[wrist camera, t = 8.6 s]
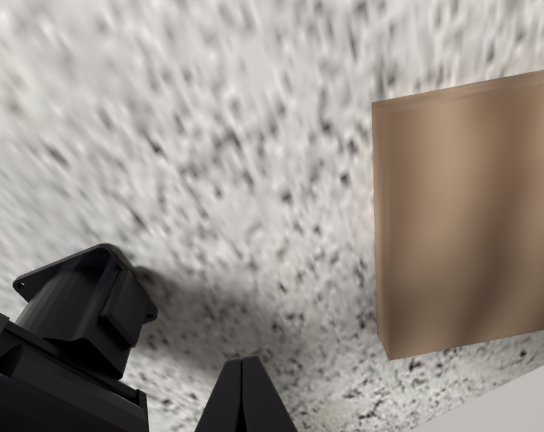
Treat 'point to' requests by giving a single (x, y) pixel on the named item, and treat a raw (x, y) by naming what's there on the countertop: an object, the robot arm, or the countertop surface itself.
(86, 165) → the countertop surface
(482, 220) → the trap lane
